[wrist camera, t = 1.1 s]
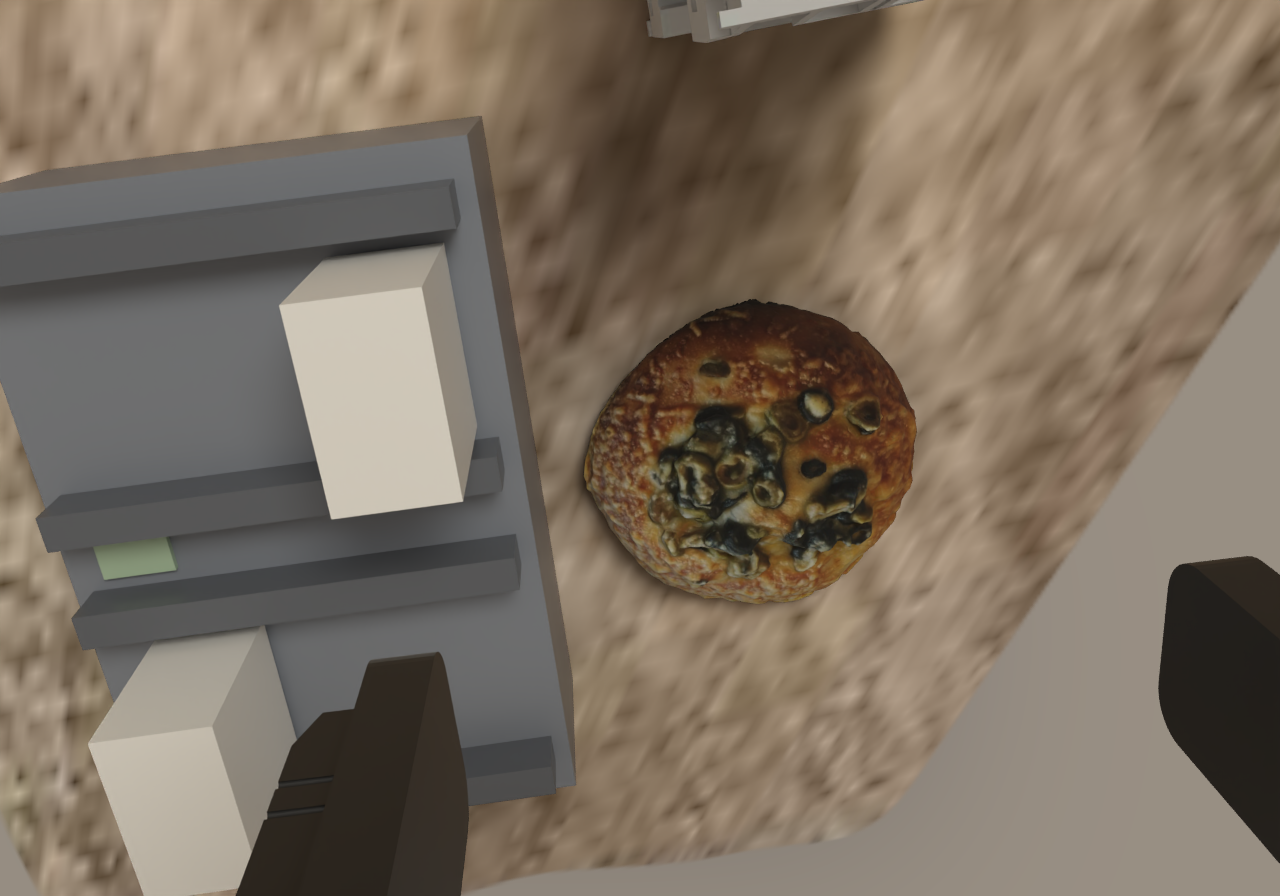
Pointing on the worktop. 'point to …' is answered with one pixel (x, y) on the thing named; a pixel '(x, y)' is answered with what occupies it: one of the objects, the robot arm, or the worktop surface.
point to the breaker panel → (279, 430)
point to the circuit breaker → (746, 15)
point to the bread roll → (753, 454)
